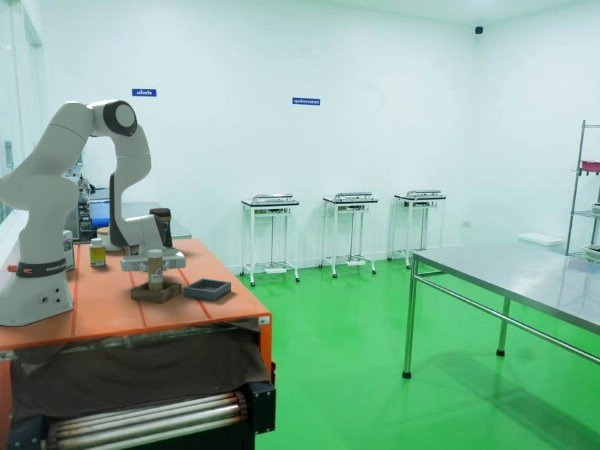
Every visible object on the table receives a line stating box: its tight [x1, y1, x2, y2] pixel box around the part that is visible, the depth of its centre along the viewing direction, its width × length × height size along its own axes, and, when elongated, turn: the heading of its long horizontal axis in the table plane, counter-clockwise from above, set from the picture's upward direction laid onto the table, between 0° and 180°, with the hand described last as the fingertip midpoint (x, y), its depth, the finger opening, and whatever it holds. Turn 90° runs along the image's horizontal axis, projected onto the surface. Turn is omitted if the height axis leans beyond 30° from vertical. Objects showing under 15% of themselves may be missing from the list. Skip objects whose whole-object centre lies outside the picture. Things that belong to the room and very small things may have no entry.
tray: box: [183, 277, 232, 303], centre depth 147 cm, size 11×11×3 cm
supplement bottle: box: [88, 237, 107, 267], centre depth 175 cm, size 6×6×10 cm
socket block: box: [130, 280, 182, 304], centre depth 144 cm, size 11×11×3 cm
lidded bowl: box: [96, 226, 122, 252], centre depth 200 cm, size 13×13×11 cm
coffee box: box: [124, 222, 144, 257], centre depth 183 cm, size 9×6×16 cm
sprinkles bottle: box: [147, 249, 164, 292], centre depth 143 cm, size 5×5×13 cm
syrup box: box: [63, 229, 76, 272], centre depth 168 cm, size 6×6×14 cm
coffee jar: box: [148, 207, 174, 248], centre depth 202 cm, size 10×8×19 cm
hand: (155, 268), depth 142 cm, fingers closed on sprinkles bottle, 4 cm apart
